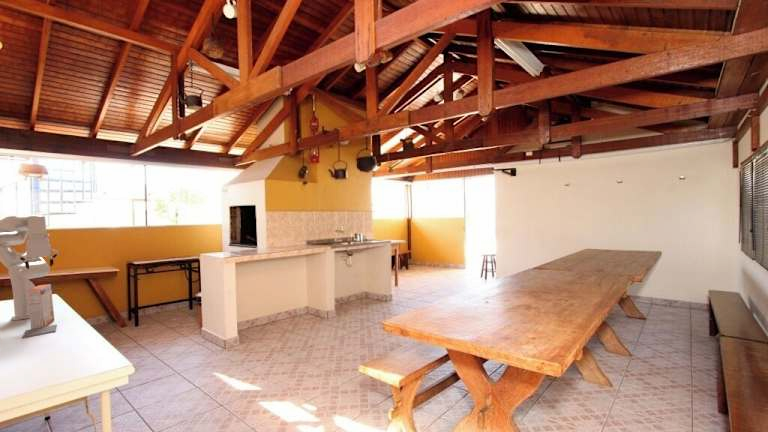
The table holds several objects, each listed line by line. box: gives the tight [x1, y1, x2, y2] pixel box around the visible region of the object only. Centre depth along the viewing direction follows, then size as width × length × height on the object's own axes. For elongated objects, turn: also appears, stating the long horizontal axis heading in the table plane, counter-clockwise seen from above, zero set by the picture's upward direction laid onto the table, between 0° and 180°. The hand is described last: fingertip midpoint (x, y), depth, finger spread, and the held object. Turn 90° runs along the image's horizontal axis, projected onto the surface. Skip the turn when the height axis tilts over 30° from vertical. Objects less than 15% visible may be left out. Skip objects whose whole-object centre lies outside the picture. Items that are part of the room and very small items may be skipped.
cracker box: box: [27, 283, 55, 329], centre depth 199 cm, size 14×6×21 cm, turn 25°
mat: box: [21, 324, 58, 339], centre depth 187 cm, size 14×12×1 cm
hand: (39, 267), depth 207 cm, fingers open, 9 cm apart
